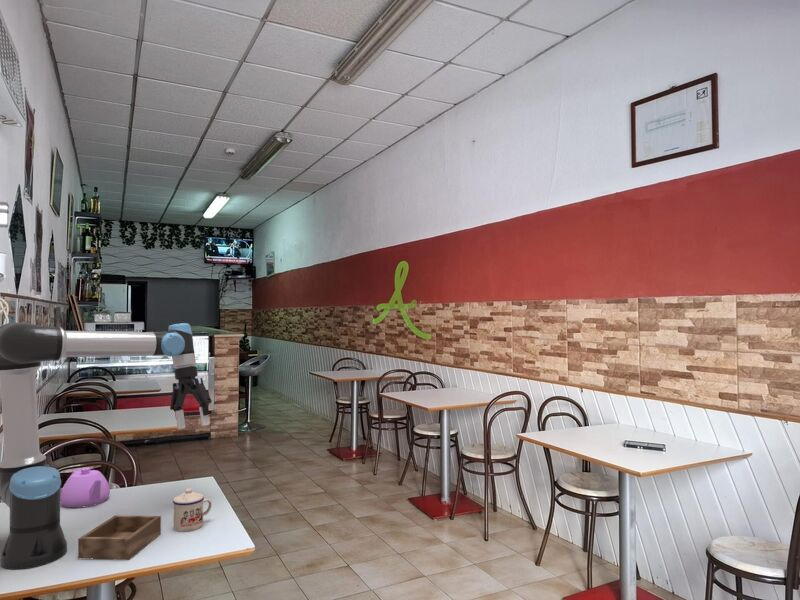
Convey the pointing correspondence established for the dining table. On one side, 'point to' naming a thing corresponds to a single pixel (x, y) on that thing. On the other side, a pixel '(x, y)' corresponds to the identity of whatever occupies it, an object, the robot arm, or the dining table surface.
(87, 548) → the walnut crate
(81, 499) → the teapot
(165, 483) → the dining table surface
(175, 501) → the teacup with lid
